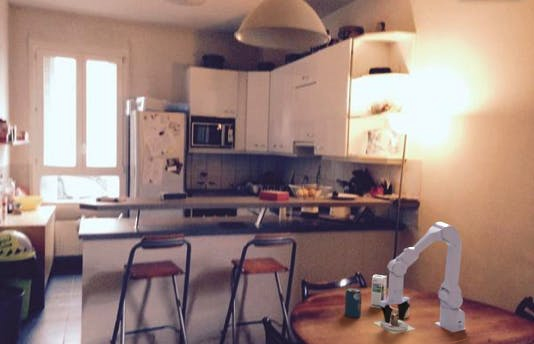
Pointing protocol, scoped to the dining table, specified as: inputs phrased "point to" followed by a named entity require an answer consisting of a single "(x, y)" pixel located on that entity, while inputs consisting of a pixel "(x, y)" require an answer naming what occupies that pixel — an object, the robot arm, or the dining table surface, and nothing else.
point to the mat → (394, 331)
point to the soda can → (353, 302)
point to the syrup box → (378, 290)
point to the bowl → (395, 310)
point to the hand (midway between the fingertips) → (394, 321)
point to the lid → (394, 324)
